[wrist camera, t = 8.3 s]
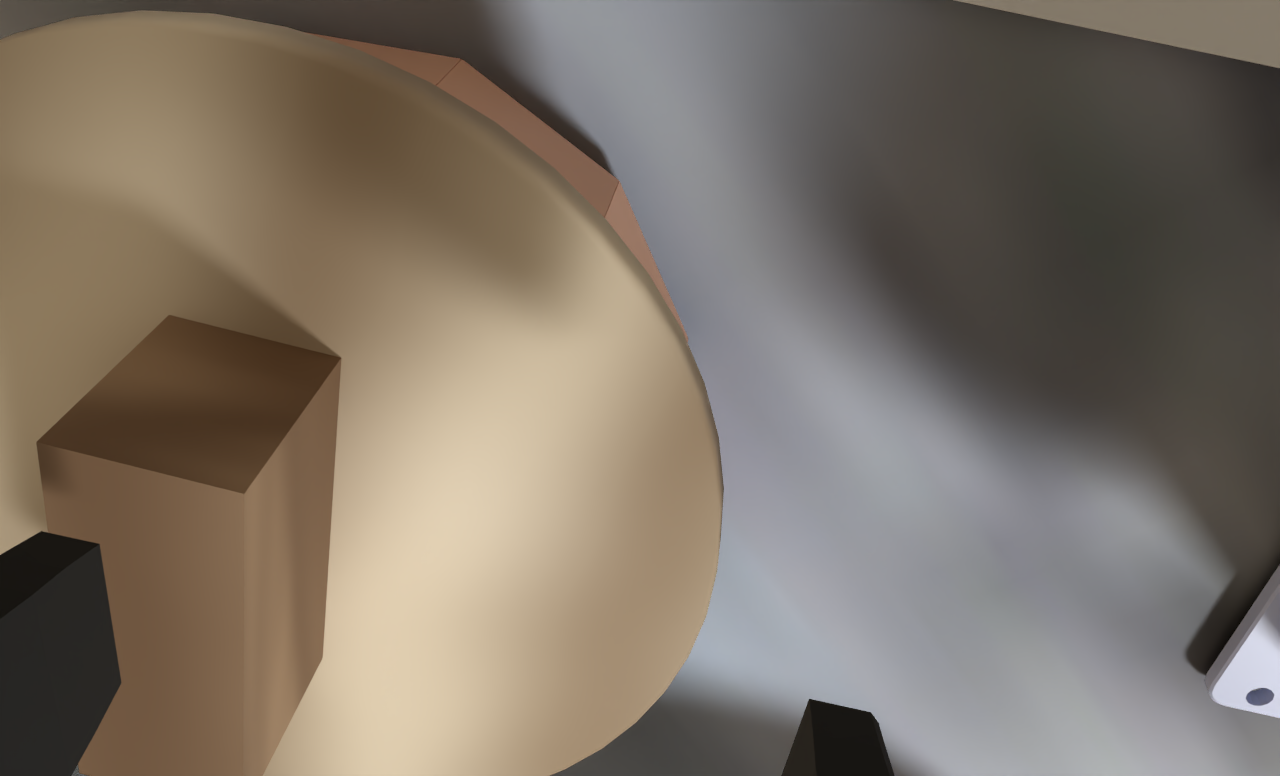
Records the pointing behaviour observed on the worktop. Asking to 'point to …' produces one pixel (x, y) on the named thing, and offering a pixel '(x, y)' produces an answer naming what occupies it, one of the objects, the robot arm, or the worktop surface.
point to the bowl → (528, 141)
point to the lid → (337, 410)
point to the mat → (1170, 22)
